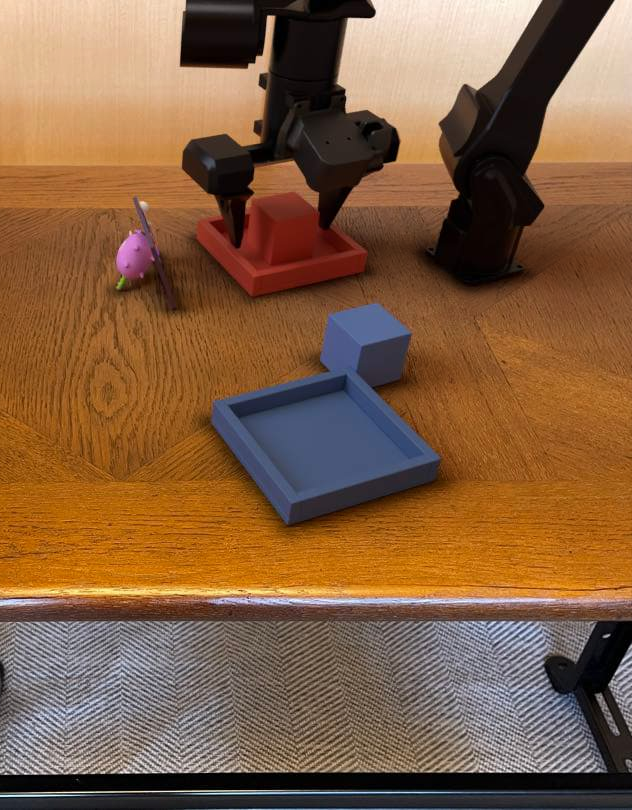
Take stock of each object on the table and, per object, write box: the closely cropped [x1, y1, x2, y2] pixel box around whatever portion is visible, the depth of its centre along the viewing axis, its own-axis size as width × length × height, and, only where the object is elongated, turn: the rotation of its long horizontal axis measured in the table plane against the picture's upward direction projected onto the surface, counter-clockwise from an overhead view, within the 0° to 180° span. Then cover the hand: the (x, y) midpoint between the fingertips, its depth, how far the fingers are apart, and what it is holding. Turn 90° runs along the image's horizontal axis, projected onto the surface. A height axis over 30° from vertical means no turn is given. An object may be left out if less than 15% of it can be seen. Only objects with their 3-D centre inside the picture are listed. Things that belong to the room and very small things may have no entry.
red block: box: [247, 191, 320, 265], centre depth 85 cm, size 4×4×4 cm
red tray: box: [196, 199, 369, 298], centre depth 86 cm, size 12×11×2 cm
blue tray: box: [210, 366, 442, 526], centre depth 65 cm, size 12×11×2 cm
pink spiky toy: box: [115, 196, 177, 310], centre depth 81 cm, size 7×5×9 cm
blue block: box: [319, 302, 413, 388], centre depth 72 cm, size 4×4×4 cm
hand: (279, 237), depth 86 cm, fingers open, 9 cm apart
